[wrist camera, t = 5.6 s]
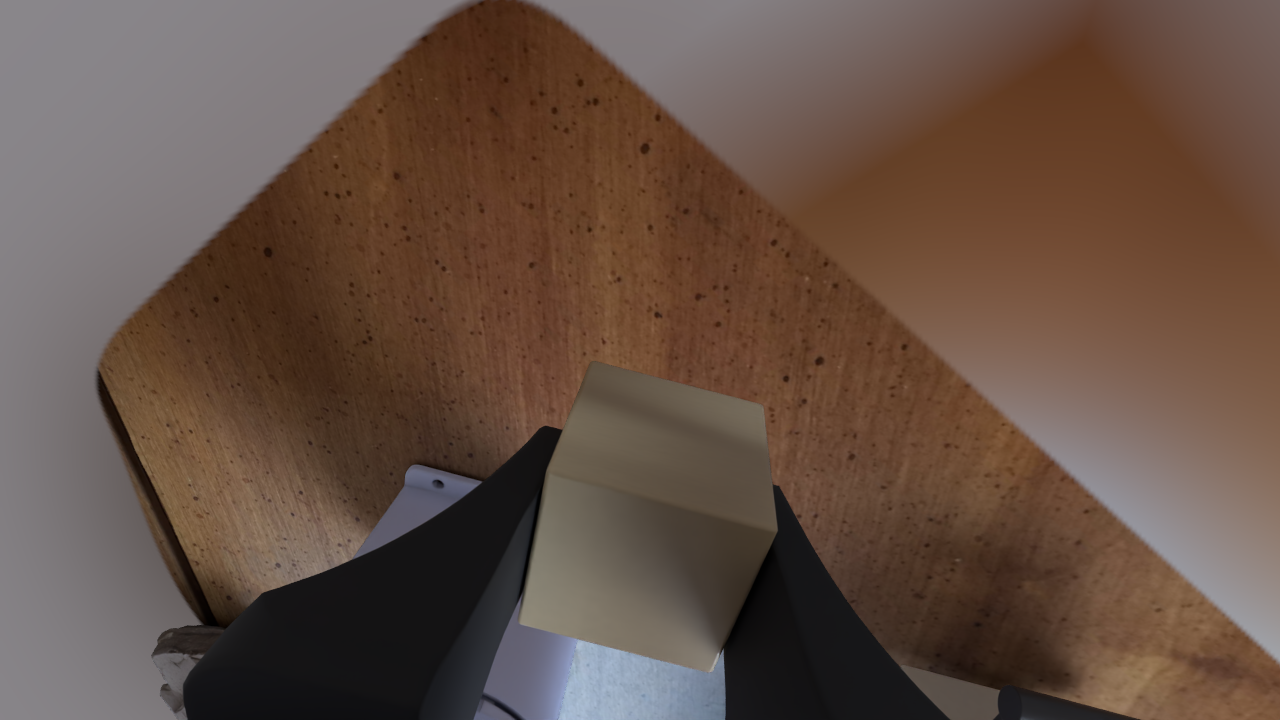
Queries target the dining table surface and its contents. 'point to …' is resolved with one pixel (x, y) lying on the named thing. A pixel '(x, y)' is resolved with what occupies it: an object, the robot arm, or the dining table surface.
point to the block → (651, 518)
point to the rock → (181, 660)
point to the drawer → (999, 701)
